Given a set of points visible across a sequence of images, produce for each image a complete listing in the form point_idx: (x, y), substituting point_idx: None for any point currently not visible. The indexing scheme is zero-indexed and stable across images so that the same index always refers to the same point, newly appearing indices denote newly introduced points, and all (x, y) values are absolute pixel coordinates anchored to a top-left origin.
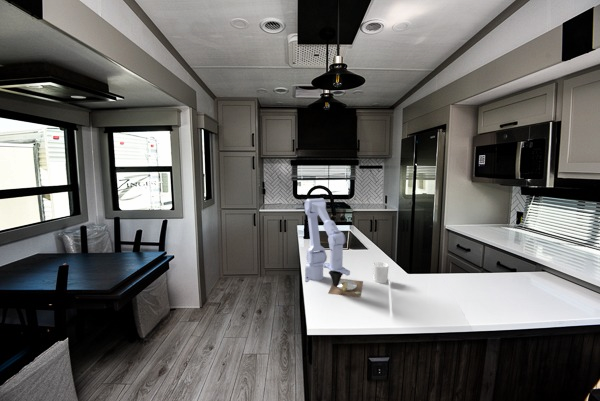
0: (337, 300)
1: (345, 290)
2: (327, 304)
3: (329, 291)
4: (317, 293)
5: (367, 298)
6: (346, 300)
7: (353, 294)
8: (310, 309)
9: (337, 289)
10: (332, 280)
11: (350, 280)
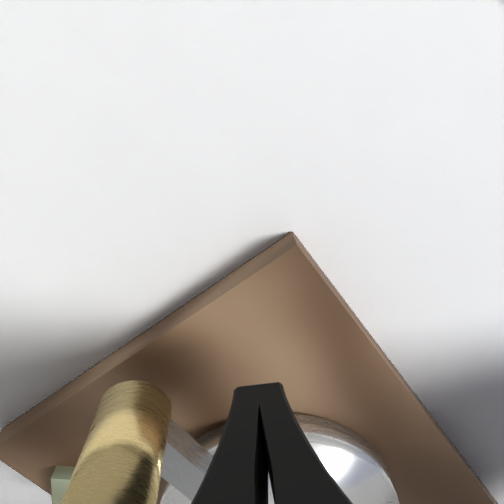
0: (123, 243)
1: (93, 422)
2: (98, 50)
3: (325, 295)
4: (441, 162)
5: (5, 491)
6: (68, 323)
7: None
8: None
9: (296, 397)
10: (302, 447)
11: None
